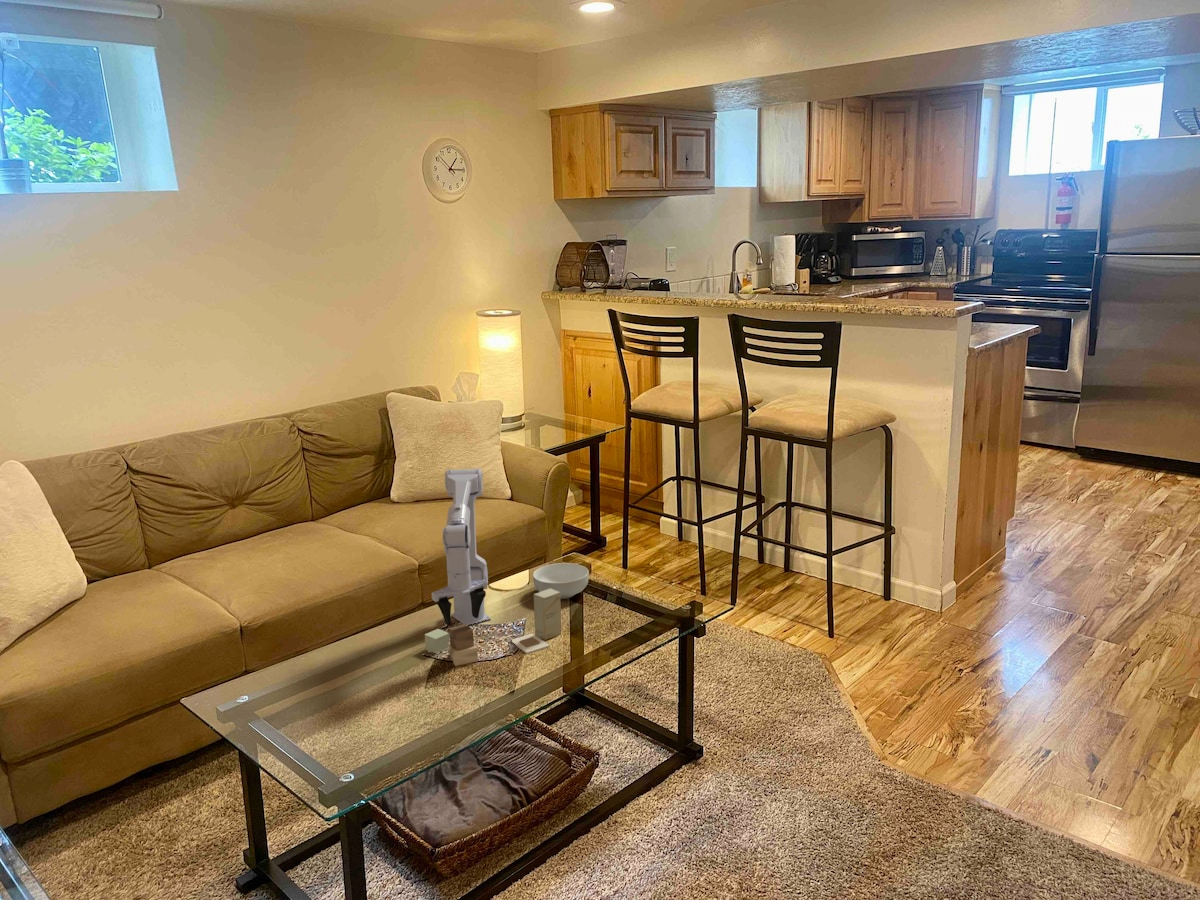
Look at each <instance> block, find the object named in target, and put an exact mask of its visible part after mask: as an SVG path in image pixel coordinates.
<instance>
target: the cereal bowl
mask: <svg viewBox="0 0 1200 900" xmlns="http://www.w3.org/2000/svg"><path fill="white" fill-rule="evenodd" d="M589 577H590V572H589V569H588V568H587V567H586V566H584V565H581V564H577V563H573V562H559V563H551V564H547V565H543V566H540V567H539V568H537V569H536V570H534V572H533V573H532V580H533V585H534V587H535V589H536V590H537V591H538V592H541V591H544V590H547V589H549V588H551V589H554V590H556V591H559V592H560V600H563V599H564V600H565V599H569V598H572V597H574V596H575V595H576V594H579V593H581V592H582V591H583V590H584V589H585V588H586V587H587V585H588V584H589V579H590V578H589Z"/></svg>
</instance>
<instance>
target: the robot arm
mask: <svg viewBox="0 0 1200 900" xmlns="http://www.w3.org/2000/svg"><path fill="white" fill-rule="evenodd" d="M483 476H484V475H483V471H482V469H481V468H480V467H478V468H467V469H466V468H465V469H449V468H448V469H447V470H446V471H445V473H444V487H445V490H446V492H447V493H448V495H449V497H452V502H453V504H452V505H451V506H450V507H448V510H447V518H446V525H445V526H446V527H445V526H444V527H443V528H442V544H443V548H444V556H446V571H447V572H446V573H447V574H446V575H447V586H445V587H442V588H440V589H438V590H436V591H433V592H431V599H432V601H434V602H435V603H436V604H437V606H438V608H439V610H440V612H441V614H442V617H443V621H444V624H445V625H446V626H447V627H450V626H452V617H453V618H454V619H455V620H457V621H458V622H459V621H460V622H459V623H461V624H462V623H463V624H466V625H469V624H472V625H475V624H474V623H476V624H479V623H483V622H486V621H490V620H491V619H492V617H491V616H489V615H488V614H486V612H485V597H486V595H487V593H486V591H485V590H486V589H488V584H489V575H488V574H489V573H488V566H487V565H488V563H487V562H486V559H484V558H483V557H481V556H480V555H479V554H478V553H477V538H476V537H477V535H476V533H477V532H476V531H477V530H476V507H475V504H476V499H477V498H479V497H481V496H483V493H484V491H483V490H484V486H483V485H484V483H483V482H484V479H483V478H484V477H483ZM451 597H453V610H454V612H453V613H451V612H452V611H451V610H452V603H451V602H450V601H449V598H451ZM489 619H490V620H489ZM485 620H486V621H485ZM482 621H483V622H482ZM478 622H479V623H478ZM463 624H462V625H463ZM469 626H470V625H469Z"/></svg>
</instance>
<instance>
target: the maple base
mask: <svg viewBox="0 0 1200 900" xmlns="http://www.w3.org/2000/svg"><path fill="white" fill-rule="evenodd" d="M448 644H449V649H448V657H449V656H450V657H451V658H450V657H449V658H450V659H452V660H451V661H453V662H452V664H453V665H454V667H457V666H461V665H465V664H470V663H475V662H478V661H479V653H478V647H477V645H476V643H475V642H474V646H472V647H469V648H466V649H462V650H459V651H457V650H456V649H455V648H454V647H453V646H451V645H450V642H449V643H448Z"/></svg>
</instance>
